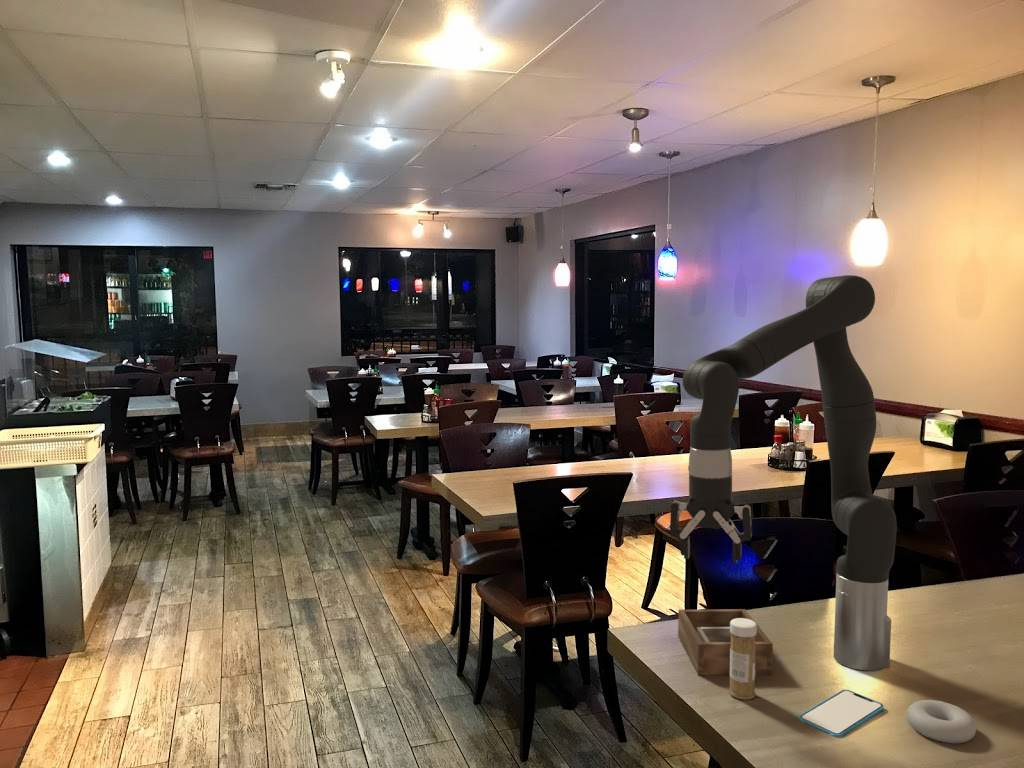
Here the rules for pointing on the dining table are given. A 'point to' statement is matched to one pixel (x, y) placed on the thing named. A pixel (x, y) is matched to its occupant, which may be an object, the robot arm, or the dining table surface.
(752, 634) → the sprinkles bottle
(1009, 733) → the dining table surface
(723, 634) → the caddy
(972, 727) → the donut
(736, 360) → the robot arm
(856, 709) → the smartphone
